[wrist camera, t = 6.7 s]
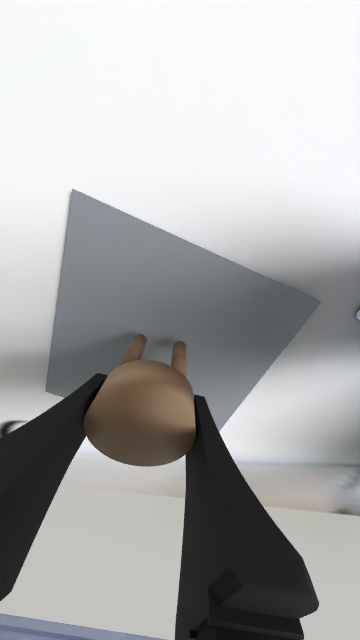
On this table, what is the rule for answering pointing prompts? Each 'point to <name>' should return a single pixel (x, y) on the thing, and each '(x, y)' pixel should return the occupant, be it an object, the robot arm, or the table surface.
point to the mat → (164, 308)
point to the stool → (144, 409)
